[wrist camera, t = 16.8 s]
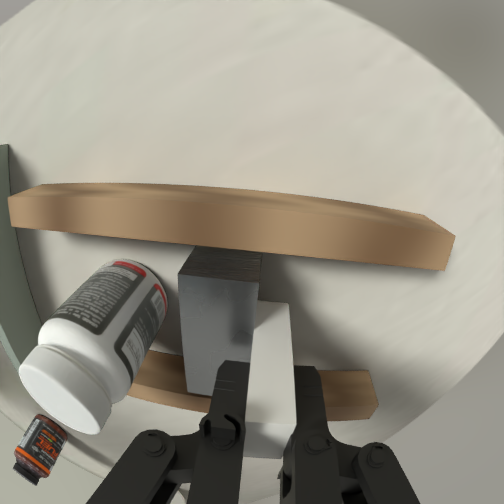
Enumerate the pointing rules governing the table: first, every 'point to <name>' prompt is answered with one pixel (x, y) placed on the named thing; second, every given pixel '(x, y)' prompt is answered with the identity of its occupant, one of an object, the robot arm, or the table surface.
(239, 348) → the tall gray brick
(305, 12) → the table surface
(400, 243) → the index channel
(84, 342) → the pill bottle
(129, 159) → the table surface
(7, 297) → the door edge rail
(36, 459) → the supplement bottle
